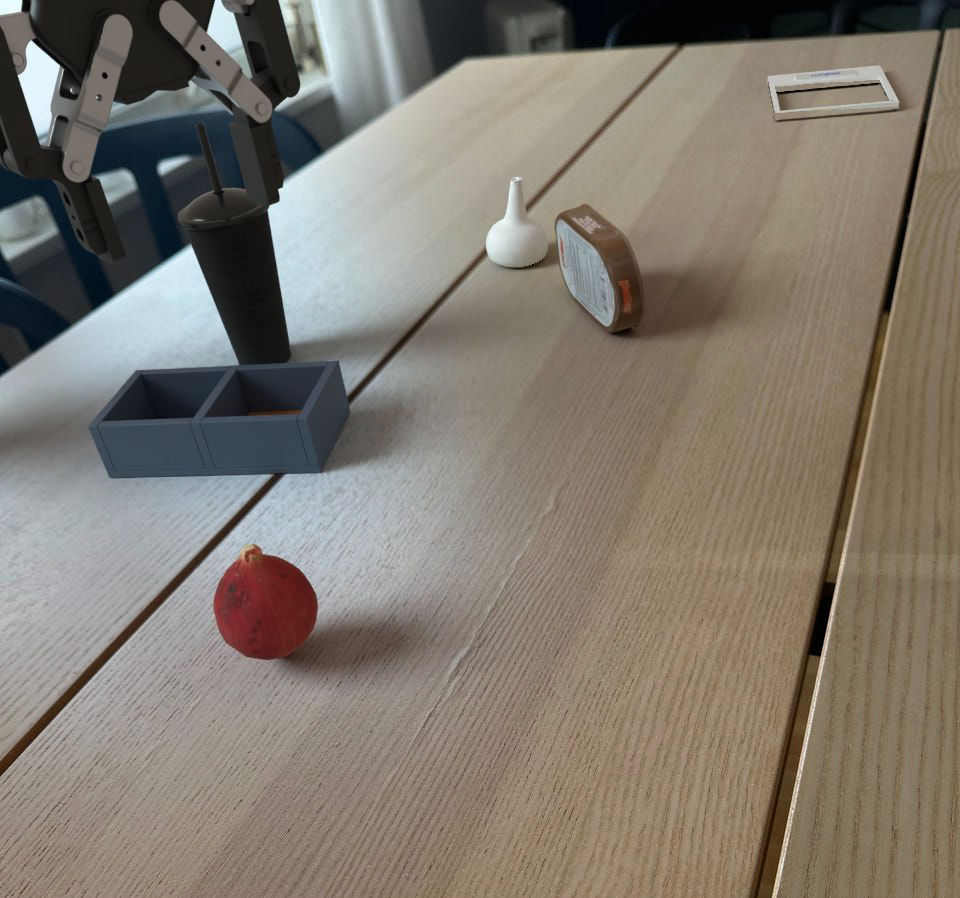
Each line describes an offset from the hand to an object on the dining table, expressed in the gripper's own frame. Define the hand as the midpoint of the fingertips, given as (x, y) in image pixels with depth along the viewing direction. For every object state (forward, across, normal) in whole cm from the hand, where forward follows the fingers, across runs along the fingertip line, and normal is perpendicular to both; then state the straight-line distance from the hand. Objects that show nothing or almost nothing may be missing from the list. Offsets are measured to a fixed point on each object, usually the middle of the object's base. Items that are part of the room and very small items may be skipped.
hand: (191, 230), depth 50 cm
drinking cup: (+23, -17, -33) cm, 44 cm away
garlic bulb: (+24, -46, -31) cm, 60 cm away
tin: (+24, -41, -15) cm, 50 cm away
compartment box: (+23, -7, -22) cm, 33 cm away
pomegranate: (+24, +4, +4) cm, 24 cm away
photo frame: (+23, -106, -37) cm, 114 cm away
